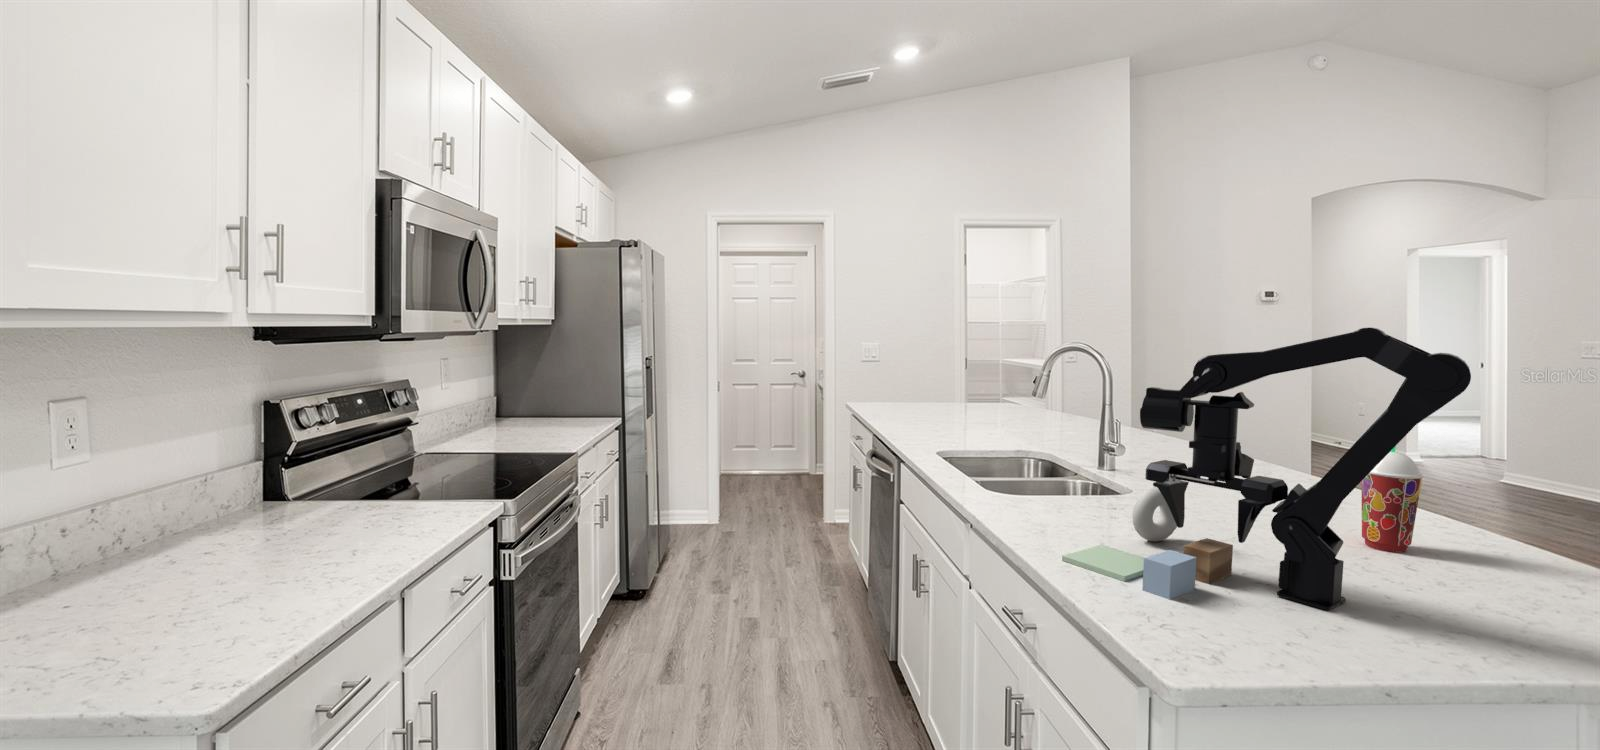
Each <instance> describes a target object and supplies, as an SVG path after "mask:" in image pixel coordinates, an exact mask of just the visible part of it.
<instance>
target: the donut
mask: <svg viewBox="0 0 1600 750" xmlns="http://www.w3.org/2000/svg"><path fill="white" fill-rule="evenodd" d="M1157 508H1159V515H1158V517H1157V519H1156V520H1155V521H1154V513H1155V511H1156V509H1157ZM1131 515H1132V516H1131V517H1132V518H1131V519H1132V525H1133V527H1134V528H1133V529H1134V530H1135V531H1136V533H1137V534H1138V535H1139V536H1140V537H1141V538H1142V539H1144V540H1147V541H1148V542H1149V541H1150V542H1156V543H1157V542H1160V541H1163V540H1166V539H1168V538H1169V537H1170V536H1171V535H1172V534H1173V533H1174V532H1175V530H1176V529H1177V528H1178V527H1177V525H1176V522H1175V520H1174V518H1173V516H1172V514H1171V511H1170V509H1169V507H1168V505H1167V503H1166V501H1165V499H1164V497H1163V496H1162V494H1161V492H1160V490H1159V489H1158V487H1154V486H1153V487H1151V488H1148V489H1146V490H1144V491H1143V492H1142V493H1141V494H1140V495H1139V496H1138V498H1136V501H1135V503H1134V505H1133V509H1132V514H1131Z"/></svg>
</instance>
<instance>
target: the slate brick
mask: <svg viewBox="0 0 1600 750" xmlns="http://www.w3.org/2000/svg"><path fill="white" fill-rule="evenodd" d="M1195 575H1196V557H1193V556H1190V555H1186V554H1183V552H1178V551H1175V550H1171V549H1168V550H1165V551H1163V552H1159V553H1156V554H1152V555H1150V556H1147V557H1145V558H1144V568H1143V575H1142V589H1141V590H1142V591H1143V592H1146V593H1149V594H1152V595H1154V596H1157V597H1160V598H1164V599H1167V600H1171V599H1174V598H1177V597H1179V596H1182V595H1185V594H1187V593H1190V592H1193V591H1195V589H1196V580H1195Z"/></svg>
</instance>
